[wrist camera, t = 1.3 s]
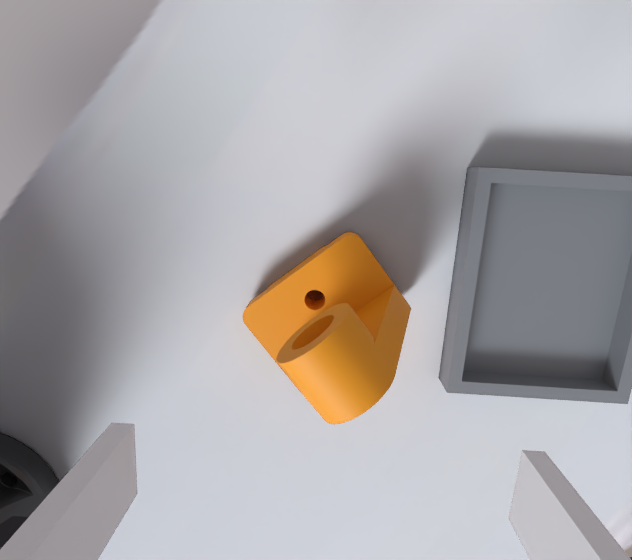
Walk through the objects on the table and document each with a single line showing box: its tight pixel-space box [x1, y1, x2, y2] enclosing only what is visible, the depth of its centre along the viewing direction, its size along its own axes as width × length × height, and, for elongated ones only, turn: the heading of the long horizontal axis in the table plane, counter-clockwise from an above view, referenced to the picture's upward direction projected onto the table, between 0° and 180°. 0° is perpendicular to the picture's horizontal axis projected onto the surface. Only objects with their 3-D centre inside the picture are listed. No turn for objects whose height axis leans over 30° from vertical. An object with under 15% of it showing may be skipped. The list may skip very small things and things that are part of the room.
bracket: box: [243, 232, 411, 424], centre depth 29 cm, size 11×7×12 cm, turn 126°
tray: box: [439, 167, 632, 404], centre depth 32 cm, size 14×17×2 cm
